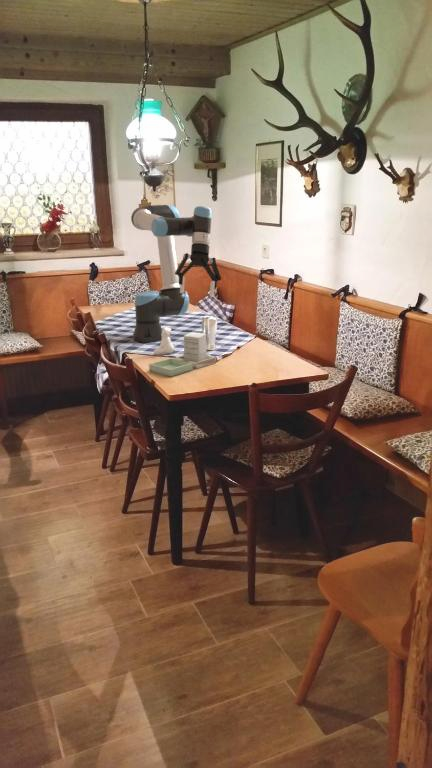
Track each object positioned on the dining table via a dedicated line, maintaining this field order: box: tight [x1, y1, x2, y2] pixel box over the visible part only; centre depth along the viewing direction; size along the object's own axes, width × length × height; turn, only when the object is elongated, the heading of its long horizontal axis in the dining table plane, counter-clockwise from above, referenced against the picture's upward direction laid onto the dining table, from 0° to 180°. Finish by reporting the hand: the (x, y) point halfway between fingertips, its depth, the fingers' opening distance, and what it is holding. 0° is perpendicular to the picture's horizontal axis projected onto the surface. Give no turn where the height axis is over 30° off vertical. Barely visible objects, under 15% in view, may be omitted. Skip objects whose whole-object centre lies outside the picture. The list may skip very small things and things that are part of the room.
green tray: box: [148, 357, 194, 378], centre depth 247 cm, size 13×13×3 cm
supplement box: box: [183, 331, 207, 363], centre depth 255 cm, size 7×7×13 cm
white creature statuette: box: [153, 326, 175, 356], centre depth 272 cm, size 10×9×12 cm
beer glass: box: [201, 315, 218, 351], centre depth 277 cm, size 7×7×15 cm
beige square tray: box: [174, 354, 217, 370], centre depth 257 cm, size 13×13×2 cm
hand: (196, 294), depth 252 cm, fingers open, 13 cm apart
